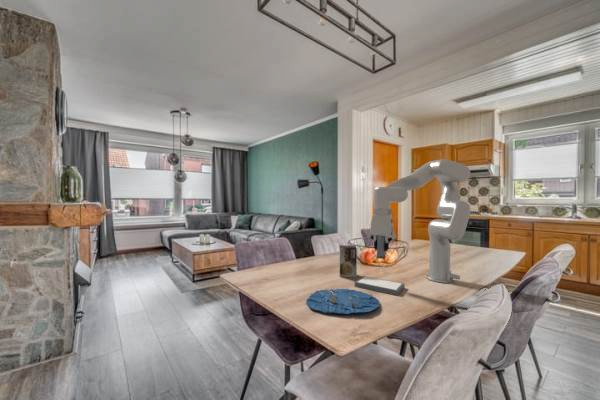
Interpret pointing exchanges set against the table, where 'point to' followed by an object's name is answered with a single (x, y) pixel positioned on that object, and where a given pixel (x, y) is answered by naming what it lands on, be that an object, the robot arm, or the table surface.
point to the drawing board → (380, 285)
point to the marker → (380, 247)
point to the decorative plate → (342, 301)
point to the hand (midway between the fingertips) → (381, 249)
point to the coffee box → (347, 261)
